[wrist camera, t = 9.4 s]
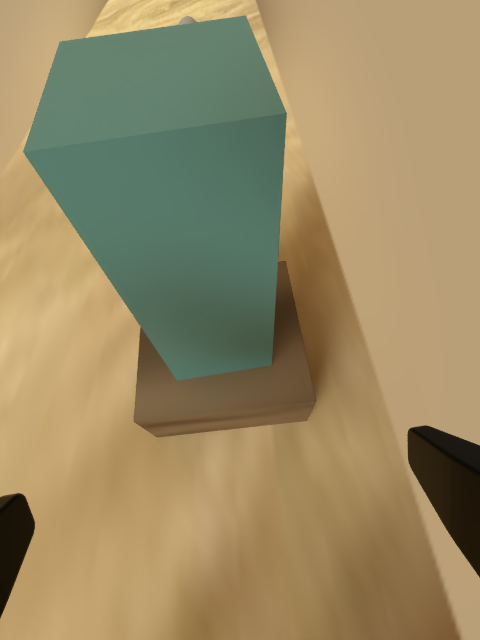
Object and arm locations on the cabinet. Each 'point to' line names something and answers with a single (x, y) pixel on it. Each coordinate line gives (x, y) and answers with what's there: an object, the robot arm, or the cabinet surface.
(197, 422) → the walnut base block
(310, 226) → the cabinet surface
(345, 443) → the cabinet surface
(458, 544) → the robot arm
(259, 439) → the cabinet surface
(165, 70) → the pillar block
